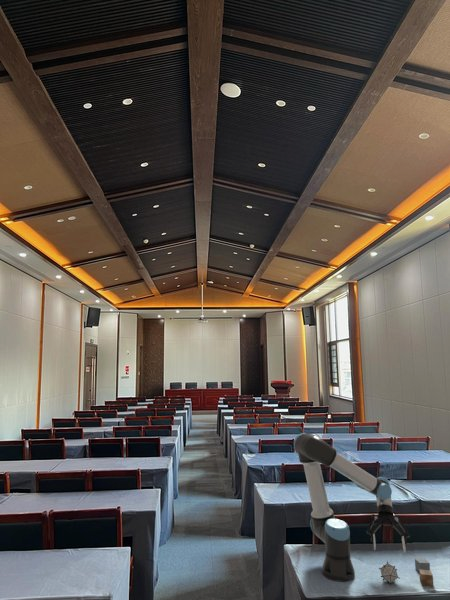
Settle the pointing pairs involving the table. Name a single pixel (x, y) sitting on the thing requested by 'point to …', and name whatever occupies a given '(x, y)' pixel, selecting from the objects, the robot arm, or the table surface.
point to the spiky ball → (389, 573)
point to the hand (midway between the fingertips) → (389, 550)
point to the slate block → (421, 564)
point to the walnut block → (426, 578)
